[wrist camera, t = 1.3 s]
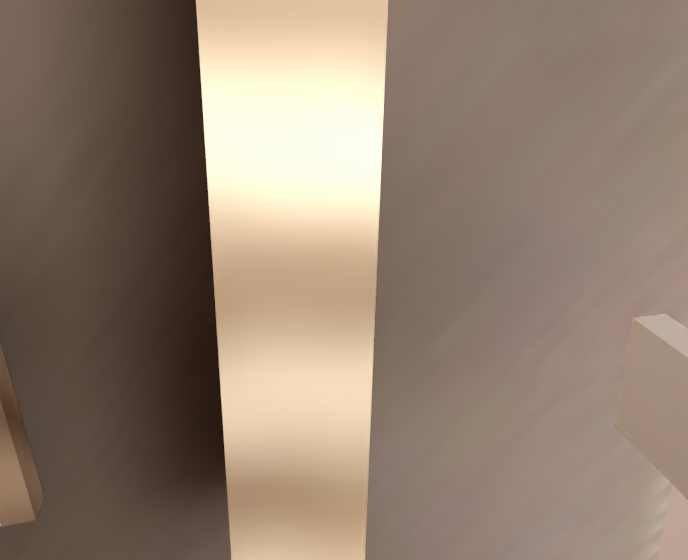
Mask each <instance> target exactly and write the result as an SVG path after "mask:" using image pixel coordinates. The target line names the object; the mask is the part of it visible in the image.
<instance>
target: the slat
mask: <svg viewBox="0 0 688 560" xmlns="http://www.w3.org/2000/svg"><path fill="white" fill-rule="evenodd" d="M196 10H197V26H198V42H199V57H200V73H201V89H202V105H203V120H204V136H205V152H206V167H207V183H208V199H209V214H210V230H211V246H212V262H213V277H214V293H215V309H216V324H217V340H218V356H219V372H220V387H221V403H222V419H223V434H224V450H225V466H226V481H227V497H228V513H229V529H230V544H231V560H365V542H366V518H367V494H368V470H369V446H370V422H371V398H372V374H373V350H374V326H375V302H376V278H377V254H378V230H379V206H380V182H381V158H382V134H383V110H384V86H385V62H386V38H387V14H388V0H196Z"/></svg>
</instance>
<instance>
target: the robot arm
mask: <svg viewBox="0 0 688 560" xmlns="http://www.w3.org/2000/svg"><path fill="white" fill-rule="evenodd" d="M615 426H616V427H617V428H618V429H619V430H620V431H621V432H622V433H623V434H624V435H625V436H626V437H627V438H628V439H629V440H630V441H631V443H632V444H633V445H634V446H635V447H636V448H637V449H638V450H639V451H640V452H641V453H642V454H643V455H644V456H645V457H646V458H647V459H648V460H649V461H650V462H651V463H652V464H653V465H654V466H655V467H656V468H657V469H658V470H659V471H660V472H661V473H662V474H663V475H664V476H665V477H666V478H667V479H668V480H669V481H670V482H671V483H672V484H673V485H674V486H675V487H676V488H677V489H678V490H679V491H680V492H681V493H682V494H683V495H684V496H685V497H686V498H687V499H688V328H686V327H685V326H683V325H682V324H680V323H679V322H677V321H675V320H674V319H672V318H671V317H669V316H668V315H666V314H659V315H652V316H644V317H636V318H633V319H632V325H631V331H630V337H629V343H628V350H627V356H626V362H625V368H624V374H623V380H622V386H621V392H620V398H619V404H618V410H617V416H616V422H615ZM0 525H1V524H0Z"/></svg>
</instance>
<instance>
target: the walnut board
mask: <svg viewBox="0 0 688 560" xmlns="http://www.w3.org/2000/svg"><path fill="white" fill-rule="evenodd" d="M43 499H44V495H43V491H42V488H41V484H40V481H39V477H38V474H37V470H36V467H35V463H34V459H33V456H32V452H31V449H30V445H29V442H28V438H27V435H26V431H25V428H24V424H23V420H22V417H21V413H20V410H19V406H18V403H17V399H16V396H15V392H14V389H13V385H12V381H11V378H10V374H9V371H8V367H7V364H6V360H5V357H4V353H3V350H2V346H1V342H0V524H1V525H0V527H1V526H7V525H13V524H19V523H25V522H31V521H36V519H37V516H38V514H39V511H40V508H41V505H42V502H43Z"/></svg>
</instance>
